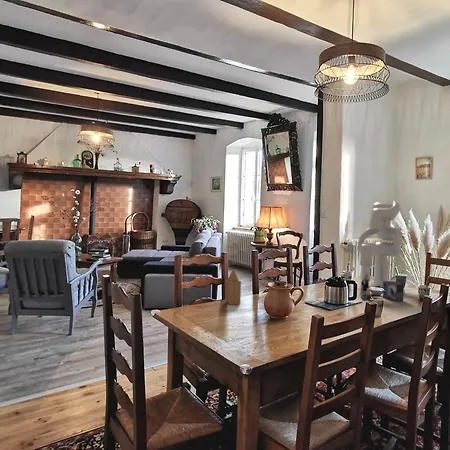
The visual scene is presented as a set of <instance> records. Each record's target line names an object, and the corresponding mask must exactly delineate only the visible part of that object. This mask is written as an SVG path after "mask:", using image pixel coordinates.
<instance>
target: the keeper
mask: <svg viewBox="0 0 450 450" xmlns="http://www.w3.org/2000/svg"><path fill="white" fill-rule="evenodd" d="M370 297H371V294H370V289H369V288H367V295H360V299H361V300H362V301H365V300H370Z"/></svg>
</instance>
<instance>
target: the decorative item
mask: <svg viewBox="0 0 450 450" xmlns="http://www.w3.org/2000/svg"><path fill="white" fill-rule="evenodd" d="M224 287H225V288H224V291H225V293H224V303H226V304H227V305H230V306H234V305H236V306H237V305H240V304H241V297H242V296H241V293H242V291H241V289H242V281H241V280H240V279H239V277H238V275H237V272H236V271H235V268H232V270H231V272H230V274H229V276H228V278H227V279H226V280H225V286H224Z"/></svg>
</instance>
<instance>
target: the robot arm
mask: <svg viewBox="0 0 450 450" xmlns="http://www.w3.org/2000/svg"><path fill="white" fill-rule="evenodd" d="M400 209H401V208H400V204H399V203H398V202H384V201H383V202H382V201H381V202H380V201H379V202H375V203H373V207H372V211H371V214H370V218H369V223H368V227H367V228H366V230H364V231H363V232H362V233H361V234H360V235H359V238H358V242H357V246H356V247H357V249H356V251H357V252H358V254H360V255H359V256H360V259H359V265H360V273H359V279H360V281H361V283H360V285H363V291H367V288H369V286H370V285H371V286H372V287H375V286H380V287H379V288H381V287H383V282H384V281H389V270H390V269H389V267H390V262H389V259H388V258H387V257H394V258H395V257H396V258H397V257H400V255H401V249H402V238H403V237H402V236H403V235H402V230H401V229H400V228H399V227H394V226H393V227H392V225H391V223H392V221H394V219H396V217H397V215H399V213H400V211H401V210H400ZM373 235H376V237H377V239H379V240H381V241H377V242H376V243H372V242H365V241H366V239H368V238H369V237H371V236H373ZM387 241H388V242H387ZM389 241H390V242H389ZM373 257H374V258H373ZM373 259H374V262H373ZM373 264H374V267H373ZM371 267H373V282H371V284H370V283H369V282H370V281H371V280H370V279H371Z"/></svg>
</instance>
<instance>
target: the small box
mask: <svg viewBox="0 0 450 450" xmlns="http://www.w3.org/2000/svg"><path fill="white" fill-rule="evenodd" d="M404 286H405V284H404V283H402V282H401V283H400V282H398V281H394V280H388V281H384V282H383V288H382V290H383V289H384V290H385V291H384V292H383V291H382V298H384V299H386V300H390V301H392V302H397V303H398V302H402V301H404Z"/></svg>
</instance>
